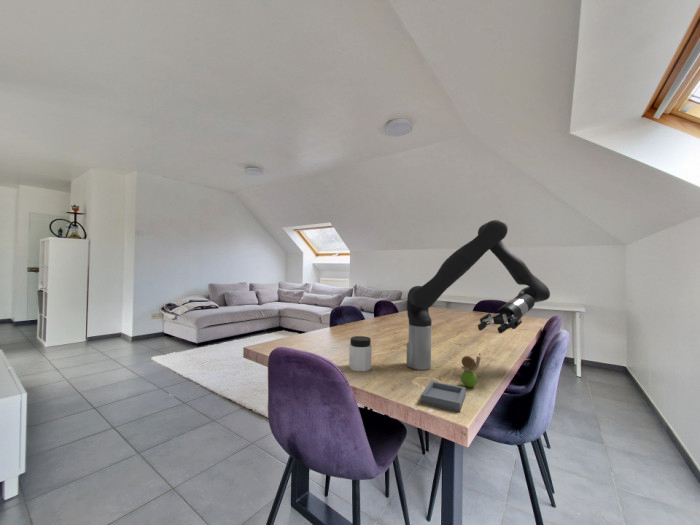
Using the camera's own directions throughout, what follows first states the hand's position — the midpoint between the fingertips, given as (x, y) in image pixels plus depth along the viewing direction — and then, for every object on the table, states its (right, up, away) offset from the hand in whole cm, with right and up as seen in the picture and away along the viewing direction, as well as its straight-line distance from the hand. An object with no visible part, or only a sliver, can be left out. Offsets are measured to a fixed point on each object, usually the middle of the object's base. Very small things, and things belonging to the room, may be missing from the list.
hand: (488, 329), depth 110 cm
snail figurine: (-10, -18, -8) cm, 22 cm away
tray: (-22, -17, -18) cm, 34 cm away
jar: (-48, -18, +9) cm, 52 cm away
